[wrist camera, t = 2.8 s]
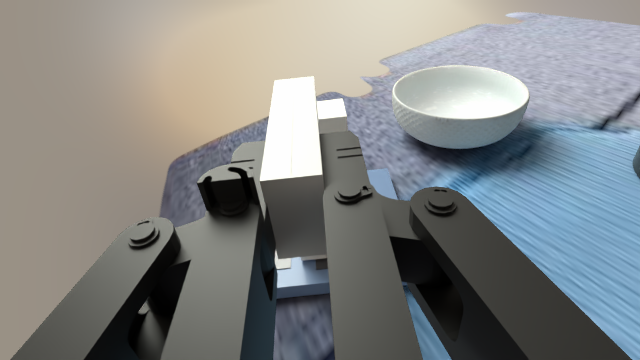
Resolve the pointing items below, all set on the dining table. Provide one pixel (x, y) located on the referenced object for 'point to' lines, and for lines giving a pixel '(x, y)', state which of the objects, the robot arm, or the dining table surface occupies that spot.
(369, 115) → the dining table surface
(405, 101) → the cereal bowl
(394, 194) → the switch board
